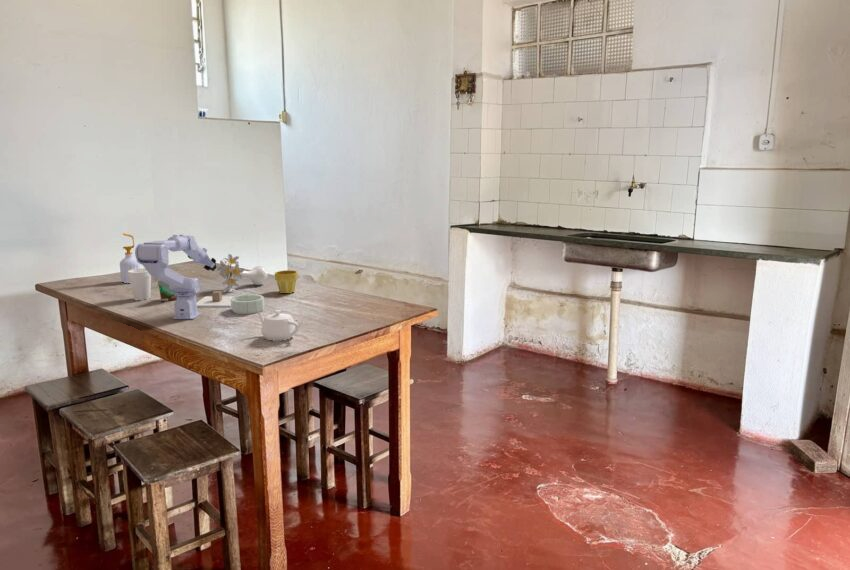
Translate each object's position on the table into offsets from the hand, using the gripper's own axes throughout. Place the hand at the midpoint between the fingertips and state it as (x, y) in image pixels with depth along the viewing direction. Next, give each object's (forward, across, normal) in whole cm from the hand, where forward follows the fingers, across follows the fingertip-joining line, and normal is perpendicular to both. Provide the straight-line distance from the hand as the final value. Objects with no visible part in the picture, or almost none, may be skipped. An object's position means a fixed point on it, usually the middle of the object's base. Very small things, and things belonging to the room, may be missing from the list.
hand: (208, 264), depth 267 cm
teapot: (-29, -59, +10) cm, 67 cm away
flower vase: (+34, -2, -3) cm, 34 cm away
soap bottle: (+40, +52, +25) cm, 70 cm away
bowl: (0, -29, +7) cm, 30 cm away
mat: (+9, -10, +11) cm, 17 cm away
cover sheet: (+9, -10, +10) cm, 17 cm away
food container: (+12, +9, +21) cm, 25 cm away
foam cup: (+12, +22, +28) cm, 38 cm away
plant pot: (+28, -24, -12) cm, 39 cm away
